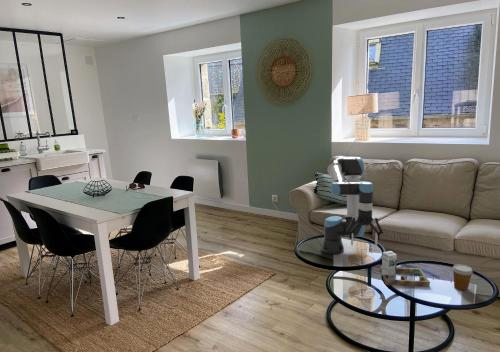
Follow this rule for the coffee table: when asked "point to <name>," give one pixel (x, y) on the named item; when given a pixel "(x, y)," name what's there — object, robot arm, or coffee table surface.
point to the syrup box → (389, 264)
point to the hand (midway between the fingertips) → (363, 244)
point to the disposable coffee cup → (462, 277)
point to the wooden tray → (404, 282)
